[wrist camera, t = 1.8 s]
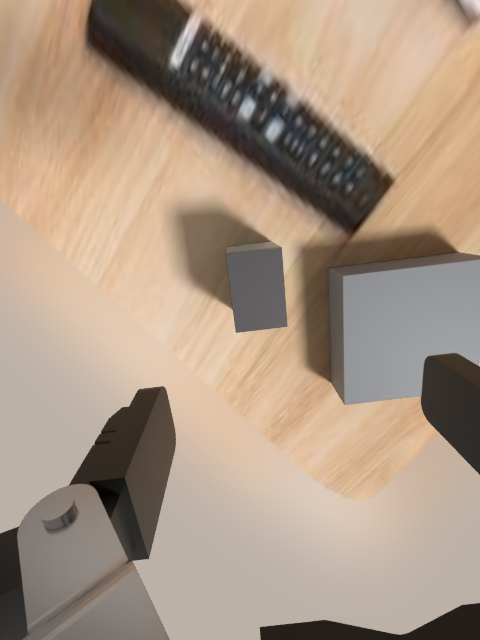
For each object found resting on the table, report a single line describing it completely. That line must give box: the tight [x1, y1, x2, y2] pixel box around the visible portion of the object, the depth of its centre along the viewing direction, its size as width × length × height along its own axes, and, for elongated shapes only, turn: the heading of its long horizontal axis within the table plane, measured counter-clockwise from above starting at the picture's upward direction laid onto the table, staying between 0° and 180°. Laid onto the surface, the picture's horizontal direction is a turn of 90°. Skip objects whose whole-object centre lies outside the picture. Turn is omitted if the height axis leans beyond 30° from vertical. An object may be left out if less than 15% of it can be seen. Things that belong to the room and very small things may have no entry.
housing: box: [226, 241, 287, 333], centre depth 26 cm, size 6×4×6 cm, turn 7°
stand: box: [328, 252, 480, 405], centre depth 29 cm, size 12×12×4 cm
